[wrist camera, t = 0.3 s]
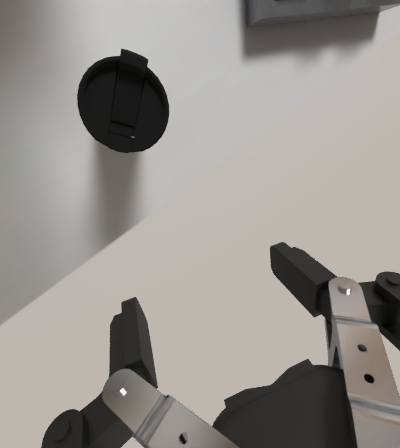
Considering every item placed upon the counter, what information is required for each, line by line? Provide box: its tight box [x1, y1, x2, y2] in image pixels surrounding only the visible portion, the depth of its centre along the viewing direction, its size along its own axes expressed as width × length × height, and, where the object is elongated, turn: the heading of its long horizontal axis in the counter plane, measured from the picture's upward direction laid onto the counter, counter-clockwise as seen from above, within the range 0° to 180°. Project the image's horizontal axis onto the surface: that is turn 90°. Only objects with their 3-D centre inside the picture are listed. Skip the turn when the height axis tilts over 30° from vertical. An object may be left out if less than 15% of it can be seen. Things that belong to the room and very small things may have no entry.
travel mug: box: [77, 49, 169, 153], centre depth 25 cm, size 6×7×20 cm
